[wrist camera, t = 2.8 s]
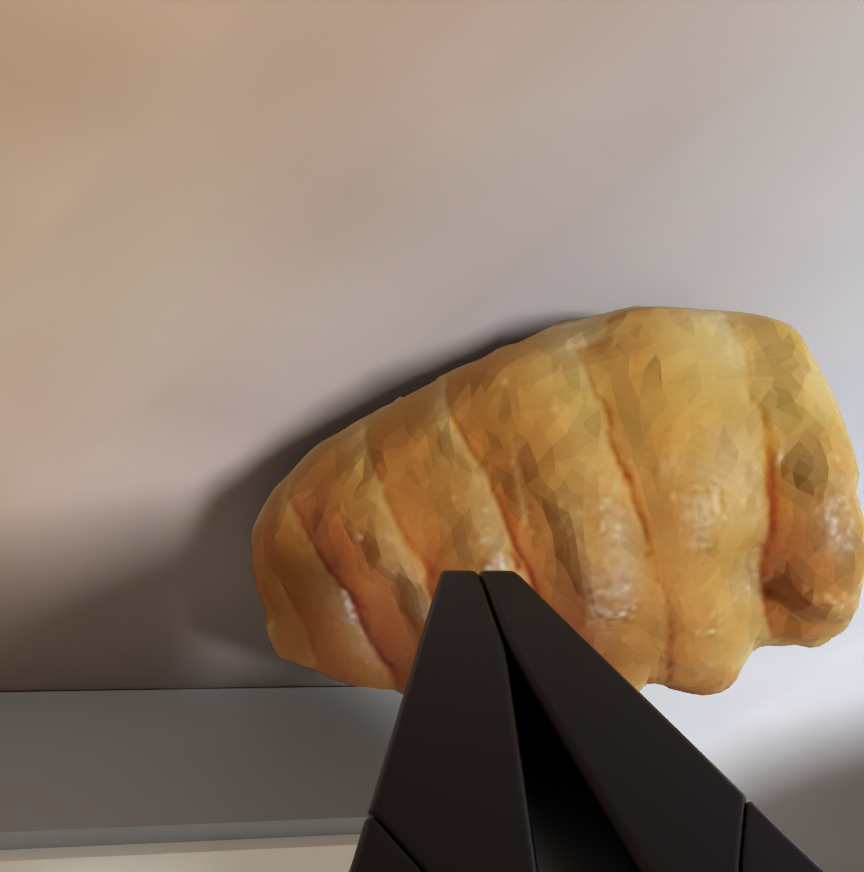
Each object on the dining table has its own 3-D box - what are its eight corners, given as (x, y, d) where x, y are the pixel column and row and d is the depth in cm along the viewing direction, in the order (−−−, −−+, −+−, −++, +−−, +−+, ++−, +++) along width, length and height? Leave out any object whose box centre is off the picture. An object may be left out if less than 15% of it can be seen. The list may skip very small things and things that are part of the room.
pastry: (325, 668, 15) (320, 852, 12) (191, 395, 12) (132, 553, 9) (770, 557, 15) (887, 717, 12) (772, 238, 11) (943, 342, 8)
